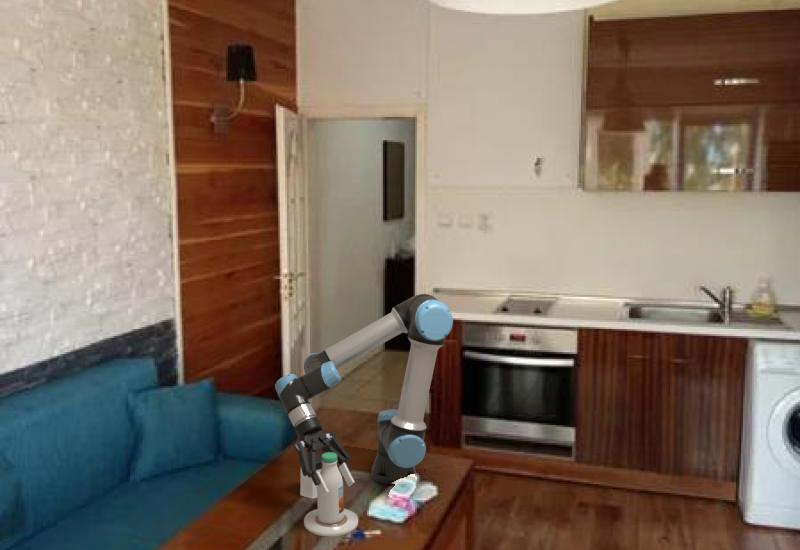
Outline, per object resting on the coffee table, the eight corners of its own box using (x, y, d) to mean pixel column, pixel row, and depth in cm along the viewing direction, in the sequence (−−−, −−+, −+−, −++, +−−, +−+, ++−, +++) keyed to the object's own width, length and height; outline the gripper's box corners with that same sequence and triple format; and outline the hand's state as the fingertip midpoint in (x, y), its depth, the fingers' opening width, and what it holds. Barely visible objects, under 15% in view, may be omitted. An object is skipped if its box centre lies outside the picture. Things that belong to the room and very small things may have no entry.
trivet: (354, 509, 236) (354, 505, 236) (361, 534, 221) (361, 530, 220) (302, 512, 233) (302, 508, 233) (305, 538, 218) (305, 533, 218)
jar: (306, 501, 241) (306, 464, 239) (294, 491, 247) (295, 455, 246) (331, 494, 246) (332, 459, 244) (319, 485, 252) (320, 450, 251)
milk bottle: (333, 527, 222) (331, 462, 218) (312, 520, 226) (310, 456, 222) (349, 516, 228) (347, 452, 224) (328, 509, 232) (326, 447, 229)
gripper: (327, 420, 241) (360, 484, 233) (270, 436, 226) (303, 505, 217) (339, 408, 237) (372, 473, 228) (281, 424, 221) (315, 494, 213)
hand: (338, 489), depth 223 cm, fingers open, 9 cm apart
